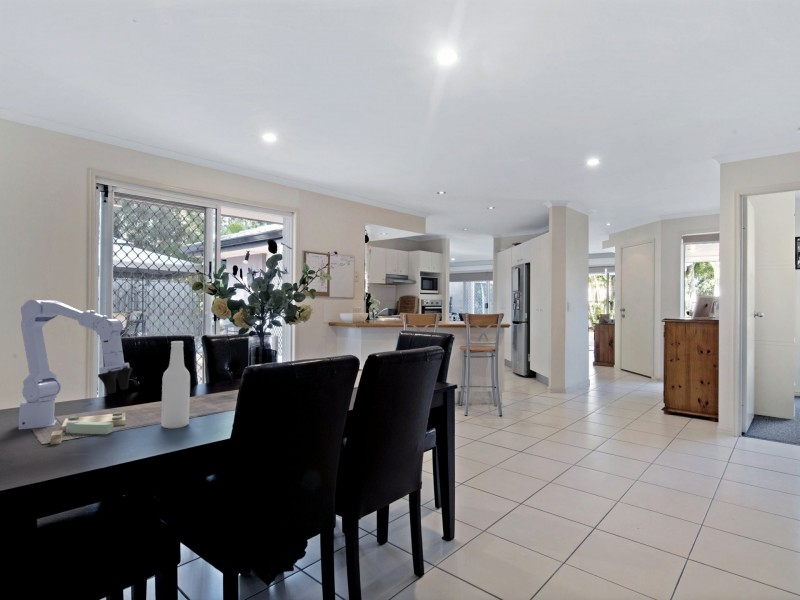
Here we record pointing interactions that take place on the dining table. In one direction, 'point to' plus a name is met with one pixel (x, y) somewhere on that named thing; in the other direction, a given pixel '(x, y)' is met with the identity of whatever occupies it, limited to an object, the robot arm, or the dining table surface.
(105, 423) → the hinged leg
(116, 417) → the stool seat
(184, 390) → the alcohol
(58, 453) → the dining table surface
